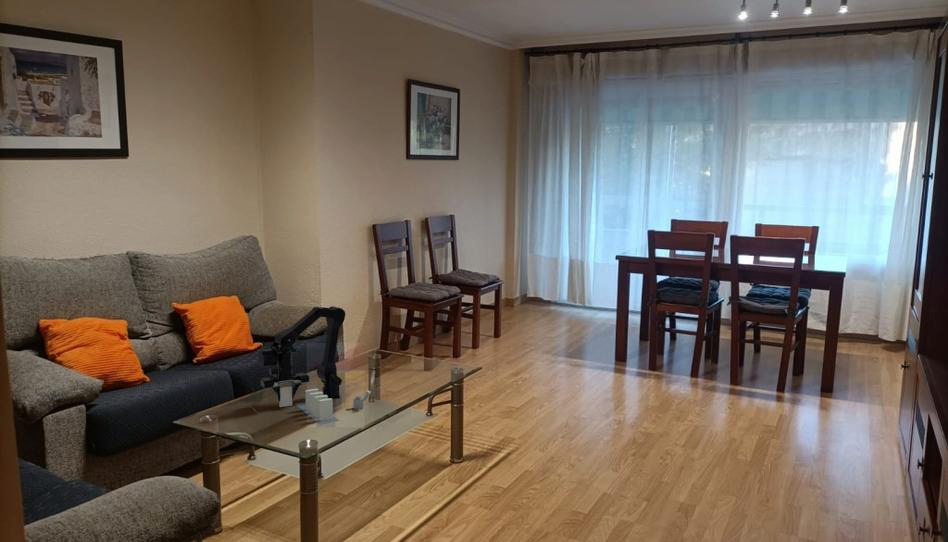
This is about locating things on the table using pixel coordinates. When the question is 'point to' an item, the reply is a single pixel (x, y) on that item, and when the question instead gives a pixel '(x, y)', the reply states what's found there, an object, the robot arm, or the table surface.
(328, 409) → the tile
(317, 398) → the tile
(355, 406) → the lighter
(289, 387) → the tile
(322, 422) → the runner
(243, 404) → the table surface
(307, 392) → the tile
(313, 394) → the tile
